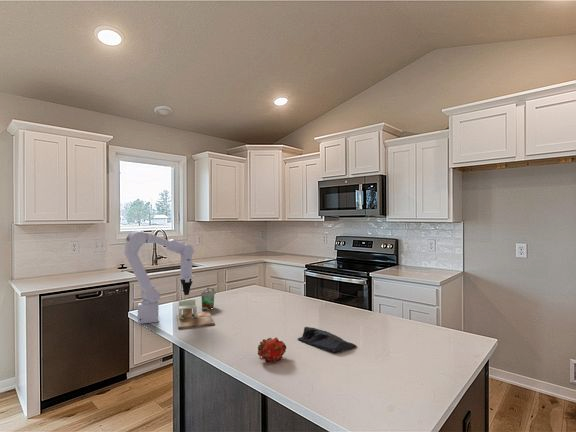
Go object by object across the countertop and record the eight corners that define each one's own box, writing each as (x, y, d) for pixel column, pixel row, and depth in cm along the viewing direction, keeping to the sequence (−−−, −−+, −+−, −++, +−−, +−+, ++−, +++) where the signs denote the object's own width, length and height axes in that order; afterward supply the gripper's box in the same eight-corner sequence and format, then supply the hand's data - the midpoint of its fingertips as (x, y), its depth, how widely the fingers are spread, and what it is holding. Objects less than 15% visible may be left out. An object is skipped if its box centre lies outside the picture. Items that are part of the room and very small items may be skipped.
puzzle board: (178, 329, 147) (178, 326, 147) (176, 316, 166) (176, 314, 166) (214, 325, 153) (214, 322, 153) (208, 313, 171) (208, 311, 172)
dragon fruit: (254, 368, 112) (283, 364, 119) (266, 360, 107) (295, 357, 114) (249, 343, 117) (278, 341, 124) (261, 334, 112) (290, 332, 119)
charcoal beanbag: (331, 358, 118) (331, 345, 118) (294, 339, 136) (294, 328, 136) (360, 348, 127) (360, 336, 127) (322, 332, 145) (322, 321, 145)
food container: (212, 311, 175) (212, 292, 175) (201, 311, 175) (201, 292, 175) (218, 305, 188) (218, 287, 188) (207, 305, 188) (207, 287, 188)
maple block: (183, 320, 160) (183, 310, 160) (183, 318, 164) (183, 307, 164) (192, 319, 162) (192, 309, 162) (191, 317, 165) (191, 307, 165)
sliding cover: (179, 318, 158) (179, 304, 158) (178, 314, 165) (178, 301, 165) (196, 316, 161) (196, 302, 161) (195, 313, 168) (195, 299, 168)
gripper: (195, 269, 166) (195, 296, 165) (192, 265, 179) (192, 290, 179) (181, 270, 163) (180, 297, 163) (179, 266, 176) (179, 291, 176)
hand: (186, 293), depth 171 cm, fingers open, 4 cm apart
